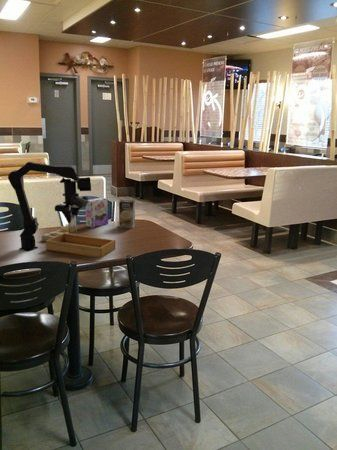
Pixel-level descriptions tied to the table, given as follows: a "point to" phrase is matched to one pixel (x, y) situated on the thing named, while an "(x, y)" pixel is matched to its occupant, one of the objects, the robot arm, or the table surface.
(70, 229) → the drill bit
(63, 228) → the drift key
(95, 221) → the candy box
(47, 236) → the socket block
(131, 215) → the coffee box
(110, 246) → the tray
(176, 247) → the table surface
